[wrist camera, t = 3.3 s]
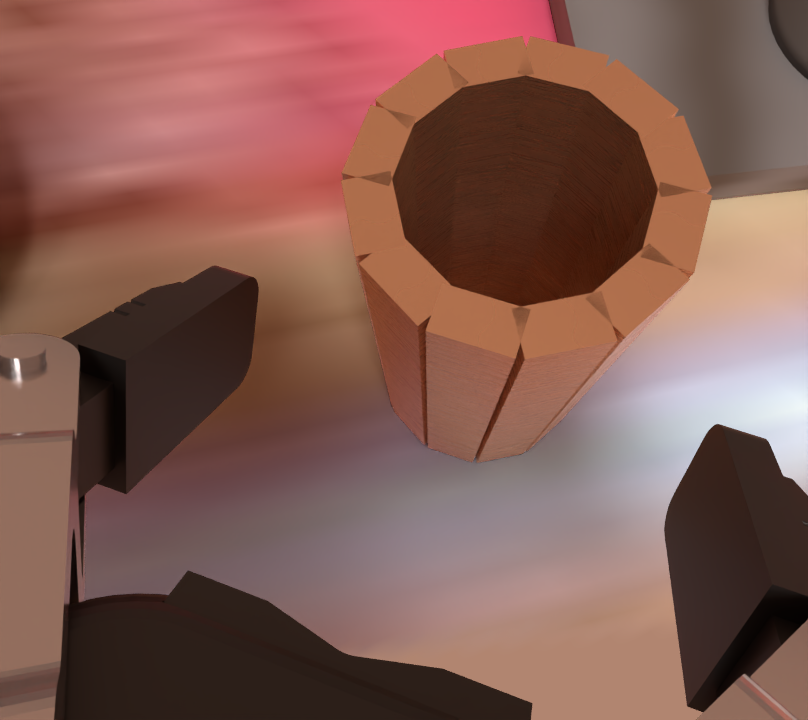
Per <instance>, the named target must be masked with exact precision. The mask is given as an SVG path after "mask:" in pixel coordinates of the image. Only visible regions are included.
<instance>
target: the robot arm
mask: <svg viewBox="0 0 808 720" xmlns="http://www.w3.org/2000/svg"><path fill="white" fill-rule="evenodd" d="M257 302H258V283H257V280H256V279H255V278H254V277H251V276H247V275H244V274H241V273H238V272H235V271H231V270H228V269H225V268H222V267H219V266H212V267H210V268H208V269H206V270H205V271H203V272H201V273H200V274H198V275H196V276H194V277H193V278H191V279H189V280H187V281H186V282H184V283H181V282H178V283H174V284H169V285H165V286H160V287H156V288H152V289H150V290H148V291H146V292H144V293H143V294H141V295H139V296H137V297H135V298H134V299H132V300H131V303H130V302H126V303H124V304H123V305H121V306H119V307H117V308H115V311H114V312H111V311H110V312H108V313H106V314H105V315H103V316H101V317H99V318H97V319H96V320H94V321H92V322H90V323H88V324H86V325H85V326H83V327H81V328H79V329H77V330H76V331H74V332H72V333H70V334H68V335H67V336H65V337H63V338H57V337H54V336H50V335H44V334H36V333H17V334H7V335H2V336H0V720H531V710H532V703H530V702H528V701H525V700H522V699H520V698H517V697H515V696H512V695H509V694H507V693H504V692H502V691H499V690H496V689H494V688H491V687H489V686H486V685H483V684H481V683H478V682H476V681H473V680H471V679H468V678H465V677H463V676H460V675H458V674H455V673H452V672H450V671H447V670H445V669H440V668H434V667H427V666H420V665H413V664H405V663H398V662H391V661H384V660H377V659H370V658H363V657H356V656H351V655H348V654H345V653H343V652H341V651H339V650H337V649H336V648H334V647H333V646H332V645H330V644H329V643H327V642H326V641H324V640H323V639H321V638H320V637H319V636H317V635H316V634H314V633H313V632H311V631H310V630H309V629H307V628H306V627H304V626H303V625H301V624H300V623H298V622H297V621H296V620H294V619H293V618H291V617H290V616H288V615H287V614H286V613H284V612H283V611H281V610H280V609H278V608H277V607H275V606H274V605H273V604H271V603H270V602H268V601H266V600H263V599H261V598H258V597H256V596H253V595H250V594H248V593H245V592H243V591H240V590H237V589H235V588H232V587H230V586H227V585H225V584H222V583H219V582H217V581H214V580H212V579H209V578H206V577H204V576H201V575H199V574H196V573H193V572H191V571H187V573H186V574H185V575H184V577H183V578H182V579H181V580H180V582H179V583H178V584H177V586H176V587H175V588H174V589H173V591H172V592H171V593H170V595H162V594H124V595H112V596H106V597H100V598H94V599H89V600H86V601H84V592H85V547H86V493H87V492H88V491H89V490H90V489H91V488H92V487H94V486H95V485H96V484H97V483H98V484H100V485H103V486H106V487H108V488H111V489H114V490H116V491H119V492H122V493H125V494H127V493H128V492H129V491H130V490H131V489H132V488H133V487H134V486H135V485H136V484H137V483H138V482H139V481H140V480H142V479H143V478H144V477H145V476H146V475H147V474H148V473H149V472H150V471H151V470H152V469H153V468H154V467H155V466H156V465H157V464H158V463H159V462H160V461H161V460H162V459H163V458H165V457H166V456H167V455H168V454H169V453H170V452H171V451H172V450H173V449H174V448H175V447H176V446H177V445H178V444H179V443H180V442H181V441H182V440H183V439H184V438H185V437H186V436H187V435H189V434H190V433H191V432H192V431H193V430H194V429H195V428H196V427H197V426H198V425H199V424H200V423H201V422H202V421H203V420H204V419H205V418H206V417H207V416H208V415H209V414H210V413H212V412H213V411H214V410H215V409H216V408H217V407H218V406H219V405H220V404H221V403H222V402H223V401H224V400H225V399H226V398H227V397H228V396H229V395H230V394H231V393H232V392H233V391H234V390H236V389H237V388H238V386H239V385H240V384H241V382H242V381H243V379H244V377H245V375H246V373H247V371H248V368H249V365H250V361H251V357H252V348H253V339H254V330H255V320H256V311H257ZM664 532H665V541H666V549H667V556H668V564H669V572H670V579H671V587H672V594H673V602H674V610H675V617H676V625H677V632H678V639H679V647H680V654H681V663H682V670H683V678H684V685H685V693H686V701H687V706H688V707H691V708H693V709H696V710H699V711H701V712H703V713H702V714H701V715H700V716H699V717H698V718H697V719H696V720H808V495H807V494H806V493H805V492H804V491H803V490H802V489H801V488H800V487H799V486H798V485H797V484H796V483H795V481H794V480H793V479H790V478H787V477H784V476H783V475H782V472H781V470H780V468H779V465H778V463H777V460H776V458H775V456H774V453H773V451H772V449H771V446H770V444H769V442H768V441H767V440H766V439H764V438H761V437H758V436H755V435H752V434H748V433H745V432H742V431H739V430H736V429H732V428H729V427H726V426H723V425H720V424H716V425H714V426H713V427H712V428H711V429H710V430H709V431H708V433H707V434H706V436H705V437H704V439H703V441H702V443H701V445H700V447H699V449H698V450H697V452H696V454H695V456H694V458H693V460H692V462H691V463H690V465H689V467H688V469H687V471H686V473H685V475H684V476H683V478H682V480H681V482H680V484H679V486H678V488H677V489H676V491H675V493H674V495H673V497H672V499H671V502H670V504H669V507H668V511H667V515H666V519H665V528H664Z"/></svg>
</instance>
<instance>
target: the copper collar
mask: <svg viewBox="0 0 808 720" xmlns="http://www.w3.org/2000/svg"><path fill="white" fill-rule="evenodd" d="M608 58H609V55H606V54H602V53H597V52H593V51H589V50H585V49H581V48H577V47H573V46H569V45H564V44H560V43H556V42H552V41H548V40H544V39H540V38H535V37H531V36H530V39H529V41H528V44H527V47H526V46H525V43H524V40H523V37H522V36H520V37H515V38H509V39H504V40H498V41H493V42H488V43H482V44H477V45H472V46H466V47H461V48H455V49H450V50H445V51H444V60H443V59H442V58H441V57H440V56H439V55H438V54H436V55H434V56H433V57H432V58H430V59H429V60H428V61H426V62H425V63H423V64H422V65H421V66H419V67H418V68H417V69H415V70H414V71H413V72H411V73H410V74H409V75H407V76H406V77H405V78H403V79H402V80H401V81H399V82H398V83H397V84H395V85H394V86H392V87H391V88H390V89H388V90H387V91H386V92H384V93H383V94H382V95H380V96H379V97H378V98H376V99H375V100H376V106H373V105H370V108H369V110H368V112H367V115H366V117H365V120H364V122H363V124H362V127H361V129H360V131H359V134H358V136H357V138H356V141H355V143H354V145H353V148H352V150H351V152H350V155H349V157H348V159H347V162H346V164H345V166H344V169H343V171H342V177H343V180H341V184H342V189H343V194H344V200H345V205H346V210H347V216H348V221H349V226H350V232H351V237H352V242H353V248H354V253H355V258H356V262H357V266H358V270H359V274H360V278H361V282H362V286H363V291H364V295H365V299H366V303H367V307H368V311H369V315H370V319H371V323H372V327H373V332H374V336H375V340H376V344H377V348H378V352H379V356H380V360H381V364H382V368H383V373H384V377H385V381H386V385H387V389H388V393H389V397H390V401H391V405H392V407H393V409H394V412H395V413H396V414H397V415H398V416H399V418H400V419H401V420H402V421H403V422H404V423H405V424H406V425H407V427H408V428H409V429H410V430H411V431H412V432H413V433H414V434H415V436H416V437H417V438H418V439H419V440H420V441H421V442H422V443H423V445H425V444H426V443H427V442H428V448H430V449H433V450H436V451H439V452H442V453H445V454H448V455H451V456H454V457H457V458H460V459H463V460H466V461H469V462H473V460H474V457H475V456H476V461H477V463H479V462H484V461H489V460H494V459H499V458H504V457H509V456H514V455H519V454H523V453H524V452H525V451H528V450H529V449H530V448H532V447H533V446H534V445H535V444H536V443H537V442H538V441H539V440H540V439H541V438H543V437H544V436H545V435H546V434H547V433H548V432H549V431H550V430H551V429H552V428H554V427H555V426H556V425H557V424H558V423H559V422H560V421H561V420H562V419H563V418H564V417H565V416H566V415H567V413H568V412H569V411H570V410H571V409H572V408H573V407H574V406H575V405H576V404H577V403H578V401H579V400H580V399H581V398H582V397H583V396H584V395H585V394H586V393H587V392H588V390H589V389H590V388H591V387H592V386H593V385H594V384H595V383H596V382H597V381H598V379H599V378H600V377H601V376H602V375H603V374H604V373H605V372H606V371H607V370H608V369H609V367H610V366H611V365H612V364H613V363H614V362H615V361H616V360H617V359H618V358H619V356H620V355H621V354H622V353H623V352H624V351H625V350H626V349H627V348H628V347H629V345H630V344H631V343H632V342H633V341H634V340H635V339H636V338H637V337H638V336H639V335H640V333H641V332H642V331H643V330H644V329H645V328H646V327H647V326H648V325H649V324H650V322H651V321H652V320H653V319H654V318H655V317H656V316H657V315H658V314H659V313H660V311H661V310H662V309H663V308H664V307H665V306H666V305H667V304H668V303H669V302H670V301H671V299H672V298H673V297H674V296H675V295H676V294H677V293H678V292H679V291H680V290H681V288H682V287H683V286H684V285H685V284H686V283H687V282H688V281H689V280H690V279H689V277H690V276H691V275H692V274H693V273H694V271H695V266H696V262H697V258H698V254H699V249H700V245H701V241H702V237H703V232H704V228H705V224H706V220H707V215H708V211H709V207H710V203H711V199H712V195H709V194H707V193H708V192H709V191H710V189H711V185H710V182H709V180H708V177H707V175H706V172H705V170H704V167H703V164H702V162H701V159H700V157H699V154H698V152H697V149H696V146H695V144H694V141H693V139H692V136H691V134H690V131H689V128H688V126H687V123H686V121H685V118H684V116H678V117H675V115H676V113H677V112H678V110H679V109H678V108H677V107H675V106H674V105H673V104H672V103H670V102H669V101H668V100H667V99H666V98H664V97H663V96H662V95H661V94H659V93H658V92H657V91H656V90H654V89H653V88H652V87H651V86H649V85H648V84H647V83H646V82H645V81H643V80H642V79H641V78H640V77H638V76H637V75H636V74H635V73H633V72H632V71H631V70H630V69H628V68H627V67H626V66H625V65H624V64H622V63H621V62H620V61H619V60H617V59H616V60H615V61H613V62H612V63H611V64H610V65H608V66H607V67H606V65H607V61H608Z"/></svg>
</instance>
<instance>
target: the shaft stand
mask: <svg viewBox="0 0 808 720" xmlns="http://www.w3.org/2000/svg"><path fill="white" fill-rule="evenodd" d="M549 3H550V8H551V12H552V17H553V21H554V26H555V30H556V35H557V40H558V43H560V44H564V45H569V46H573V47H577V48H581V49H585V50H589V51H593V52H597V53H602V54H606V55H609V58H608V61H607V65H606V67H607V66H608V65H610V64H611V63H612V62H613V61H615V60H616V59H617V60H619V61H620V62H621V63H622V64H624V65H625V66H626V67H627V68H628V69H630V70H631V71H632V72H633V73H635V74H636V75H637V76H638V77H640V78H641V79H642V80H643V81H645V82H646V83H647V84H648V85H649V86H651V87H652V88H653V89H654V90H656V91H657V92H658V93H659V94H661V95H662V96H663V97H664V98H666V99H667V100H668V101H669V102H670V103H672V104H673V105H674V106H675V107H677V108H678V109H679V110H678V112H677V113H676V115H675V117H678V116H684V118H685V121H686V123H687V126H688V128H689V131H690V134H691V136H692V139H693V141H694V144H695V146H696V149H697V152H698V154H699V157H700V159H701V162H702V164H703V167H704V170H705V172H706V175H707V177H708V180H709V182H710V185H711V189H710V191H709V192H708V193H707V194H709V195H712V199H711V200H715V199H724V198H733V197H742V196H751V195H760V194H769V193H778V192H787V191H796V190H805V189H808V0H549Z"/></svg>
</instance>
